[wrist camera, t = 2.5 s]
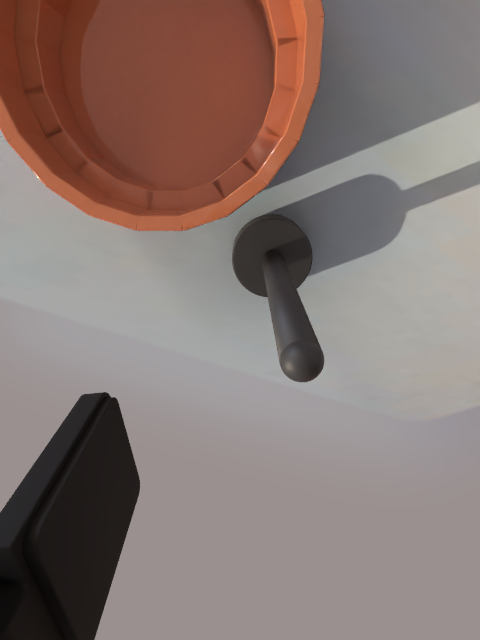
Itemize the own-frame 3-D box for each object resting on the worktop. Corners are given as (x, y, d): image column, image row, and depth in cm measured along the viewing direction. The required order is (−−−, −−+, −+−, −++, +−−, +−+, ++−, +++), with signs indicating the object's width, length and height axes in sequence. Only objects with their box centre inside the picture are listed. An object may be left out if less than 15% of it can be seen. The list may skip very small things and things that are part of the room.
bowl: (189, -191, 17) (163, -355, 12) (351, 112, 22) (386, 96, 17) (-22, 45, 21) (-116, 2, 16) (157, 261, 26) (133, 287, 20)
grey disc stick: (280, 198, 24) (336, 251, 10) (321, 261, 26) (422, 388, 11) (218, 244, 25) (183, 353, 11) (260, 301, 27) (280, 463, 12)
